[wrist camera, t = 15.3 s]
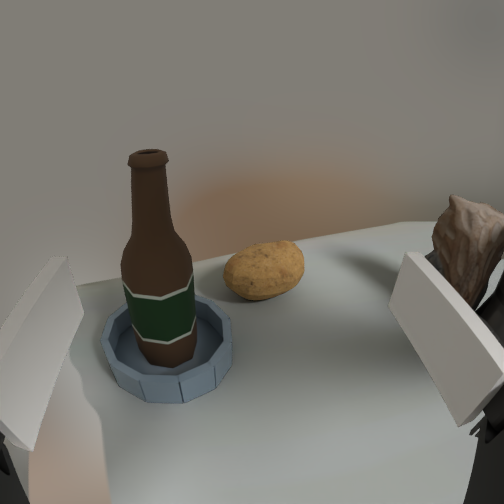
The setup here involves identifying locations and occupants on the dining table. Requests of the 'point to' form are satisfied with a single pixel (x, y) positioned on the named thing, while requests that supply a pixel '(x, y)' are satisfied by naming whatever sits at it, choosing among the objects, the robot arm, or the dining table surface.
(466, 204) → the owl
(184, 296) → the beer bottle
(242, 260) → the potato
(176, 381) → the bowl
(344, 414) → the dining table surface
